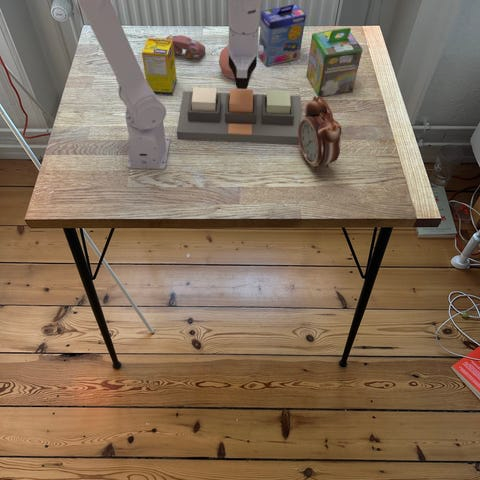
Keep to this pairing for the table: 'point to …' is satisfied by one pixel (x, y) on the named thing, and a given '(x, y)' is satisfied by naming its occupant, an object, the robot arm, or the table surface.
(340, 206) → the table surface
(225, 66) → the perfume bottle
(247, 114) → the control board
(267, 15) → the blue cardboard box
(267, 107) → the sage button
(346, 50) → the chalk box
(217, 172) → the table surface
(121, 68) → the robot arm
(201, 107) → the cream button
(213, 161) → the table surface
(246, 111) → the terracotta button
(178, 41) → the red toy car
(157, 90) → the supplement box
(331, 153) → the alarm clock
